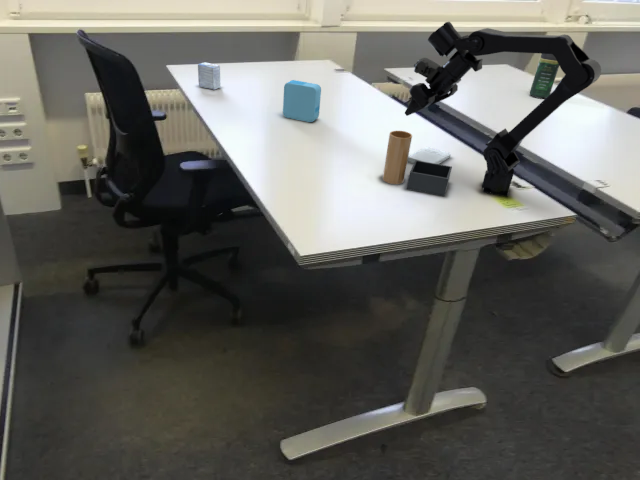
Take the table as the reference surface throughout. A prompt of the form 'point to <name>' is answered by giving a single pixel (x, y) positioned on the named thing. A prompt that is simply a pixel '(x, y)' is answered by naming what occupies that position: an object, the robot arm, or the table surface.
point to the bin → (429, 178)
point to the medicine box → (209, 75)
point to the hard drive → (429, 155)
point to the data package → (301, 100)
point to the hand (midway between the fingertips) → (413, 110)
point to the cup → (397, 157)
